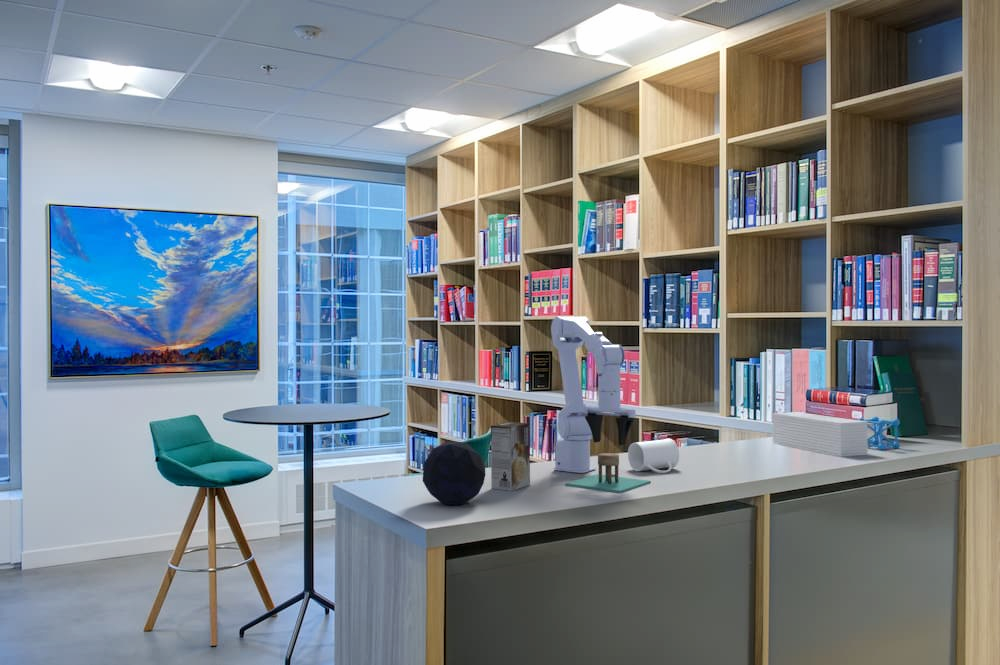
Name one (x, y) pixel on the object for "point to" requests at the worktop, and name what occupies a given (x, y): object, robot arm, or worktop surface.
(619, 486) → the teal mat
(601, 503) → the worktop surface
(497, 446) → the coffee box
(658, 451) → the mug
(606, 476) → the walnut stool
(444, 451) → the decorative orb
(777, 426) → the stack of papers
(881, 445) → the molecular structure
